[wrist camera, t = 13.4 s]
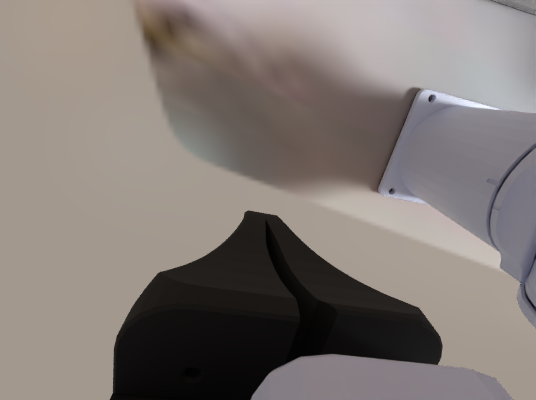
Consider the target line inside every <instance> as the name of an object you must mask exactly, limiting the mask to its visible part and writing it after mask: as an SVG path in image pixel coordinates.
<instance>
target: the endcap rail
mask: <svg viewBox="0 0 536 400" xmlns="http://www.w3.org/2000/svg"><path fill="white" fill-rule="evenodd" d="M493 1H496V2H499V3H501V4H504V5H507V6H510V7H513V8H516V9H519V10H522V11H525V12H528V13H531V14H534V15H536V0H493Z"/></svg>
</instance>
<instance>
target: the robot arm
mask: <svg viewBox="0 0 536 400" xmlns="http://www.w3.org/2000/svg"><path fill="white" fill-rule="evenodd" d="M430 95H432V100H431V101H430V102H429V101H428V98H429V96H430ZM391 188H393V191H392V192H390V193H389V190H390V189H391ZM378 191H379V193H380V194H381V195H383V196H388V197H393V198H398V199H403V200H407V201H412V202H417V203H422V204H427V205H430V206H432V207H433V208H435V209H436V210H438V211H439V212H441V213H442V214H444V215H445V216H447V217H448V218H450V219H451V220H453V221H454V222H456V223H457V224H459V225H460V226H462V227H463V228H465V229H466V230H468V231H469V232H471V233H472V234H474V235H475V236H477V237H478V238H480V239H481V240H483V241H484V242H486V243H487V244H488V245H490V246H491V247H493V248H494V249H496V250H497V251H499V252H500V254H501V263H500V268H501V269H502V270H504V271H505V272H507V273H508V274H509V275H511V276H512V277H513V278H515V279H516V280H518V281H519V282H520V283H521V284H520V286H519V288H518V291H517V301H518V304H519V307H520V309H521V311H522V312H523V314H524V315H525V316H526V318H527V319H528V321H529V322H530V323H531V324H532V325H533V326H534V327H535V328H536V114H534V113H525V112H515V111H507V110H503V109H499V108H496V107H492V106H488V105H485V104H481V103H477V102H474V101H470V100H466V99H462V98H459V97H455V96H451V95H448V94H444V93H440V92H437V91H433V90H429V89H422V90H420V91H419V92H418V93H417V94H416V97H415V99H414V102H413V104H412V107H411V109H410V111H409V114H408V116H407V119H406V121H405V124H404V126H403V129H402V131H401V134H400V136H399V138H398V141H397V143H396V146H395V148H394V151H393V153H392V156H391V158H390V161H389V163H388V165H387V168H386V170H385V173H384V175H383V178H382V180H381V183H380V185H379V188H378ZM441 354H442V342H441V338H440V336H439V334H438V333H437V332H436V330H435V329H434V327H433V326H432V325H431V323H430V322H429V321H428V320H427V318H426V317H425V315H424V314H423V313H422V311H421V310H420V309H419V308H418V307H415V306H413V305H410V304H408V303H405V302H403V301H401V300H398V299H395V298H393V297H391V296H388V295H386V294H383V293H381V292H379V291H377V290H375V289H373V288H371V287H369V286H367V285H365V284H363V283H361V282H359V281H357V280H355V279H354V278H352V277H350V276H348V275H347V274H345V273H343V272H342V271H340V270H338V269H337V268H335V267H334V266H332V265H331V264H330V263H328V262H327V261H325V260H324V259H323V258H321V257H320V256H319V255H317V254H316V253H315V252H314V251H313V250H311V249H310V248H309V247H308V246H307V245H306V244H305V243H303V242H302V241H301V240H300V239H299V238H298V237H297V236H296V235H295V234H294V233H293V232H292V231H291V230H290V229H289V227H288V226H287V225H286V224H285V223H284V222H283V221H282V220H281V219H280V218H279V217H278V216H276V215H271V214H264V213H259V212H254V211H247V212H245V214H244V218H243V220H242V222H241V223H240V225H239V226H238V228H237V229H236V230H235V231H234V233H233V234H232V235H231V236H230V237H229V238H228V239H227V240H226V241H225V242H224V243H222V244H221V245H220V246H219V247H218V248H216V249H215V250H213V251H212V252H210V253H209V254H207V255H206V256H204V257H202V258H200V259H198V260H196V261H193V262H192V263H189V264H186V265H183V266H180V267H177V268H173V269H170V270H167V271H163V272H160V273H158V274H157V275H156V276H155V277H154V279H153V280H152V281H151V282H150V283H149V285H148V286H147V287H146V289H145V290H144V291H143V293H142V294H141V295H140V297H139V298H138V299H137V301H136V302H135V304H134V305H133V307H132V308H131V310H130V312H129V314H128V316H127V317H126V319H125V321H124V323H123V325H122V327H121V329H120V331H119V333H118V335H117V338H116V342H115V346H114V370H113V371H114V372H113V394H112V396H111V398H110V400H513V398H512V397H511V396H510V395H509V394H508V393H507V391H506V390H505V389H504V388H503V387H502V385H501V384H500V383H499V382H498V381H497V380H496V378H494V377H491V376H488V375H485V374H483V373H480V372H477V371H475V370H471V369H468V368H462V367H453V366H442V365H438V363H439V361H440V358H441Z"/></svg>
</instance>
